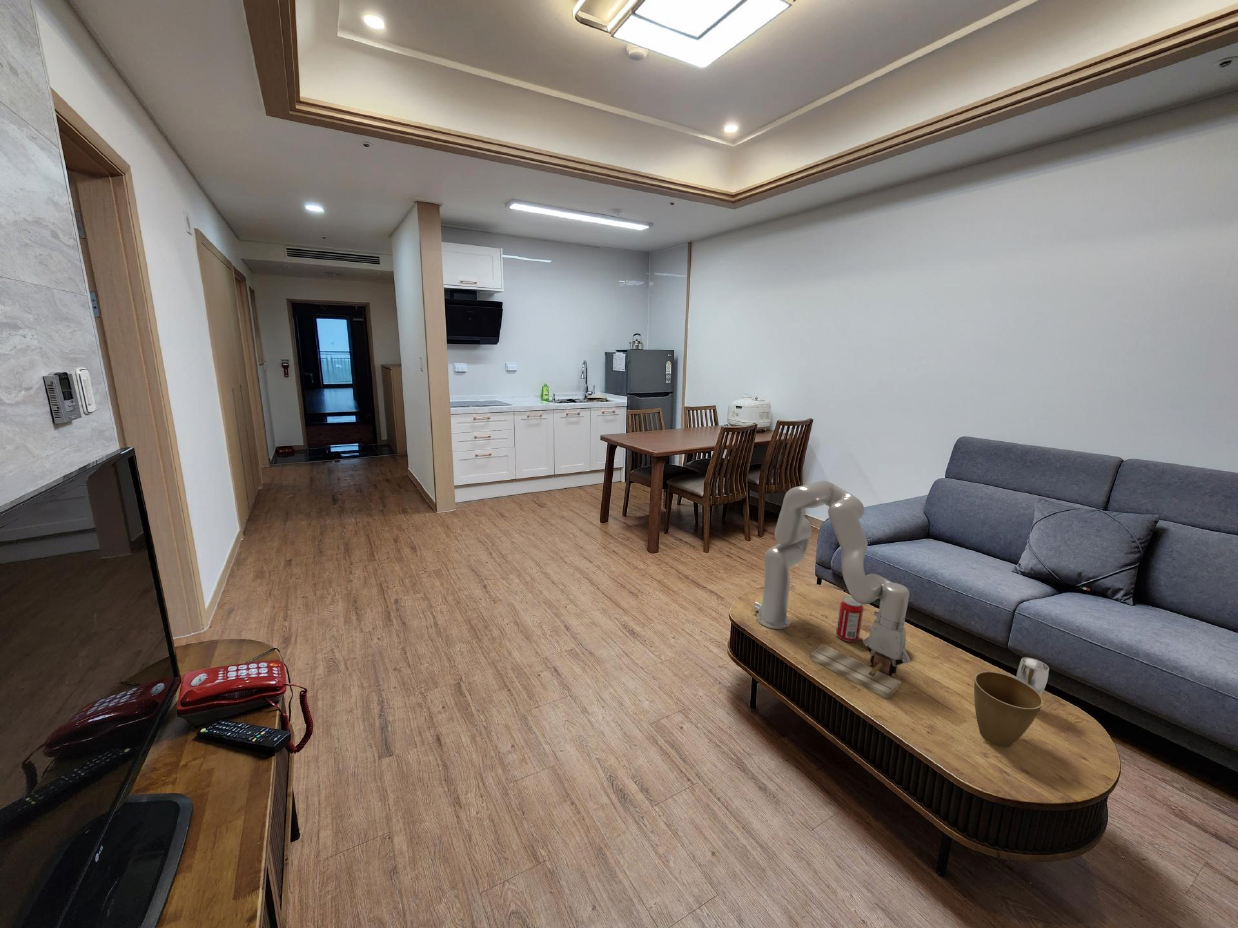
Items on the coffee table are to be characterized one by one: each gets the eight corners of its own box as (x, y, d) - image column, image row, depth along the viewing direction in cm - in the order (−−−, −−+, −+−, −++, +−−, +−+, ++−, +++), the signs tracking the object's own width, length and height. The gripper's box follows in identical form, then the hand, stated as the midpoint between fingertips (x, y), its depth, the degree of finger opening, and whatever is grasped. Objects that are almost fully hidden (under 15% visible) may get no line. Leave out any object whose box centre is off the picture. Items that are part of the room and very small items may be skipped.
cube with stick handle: (862, 678, 162) (864, 662, 161) (876, 665, 169) (879, 649, 168) (877, 686, 158) (880, 670, 157) (892, 672, 165) (894, 656, 164)
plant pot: (952, 727, 143) (962, 678, 139) (984, 712, 149) (995, 666, 145) (1009, 766, 130) (1022, 714, 126) (1042, 749, 136) (1055, 698, 132)
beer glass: (1004, 702, 154) (1014, 659, 150) (1019, 697, 156) (1029, 655, 153) (1029, 717, 147) (1040, 673, 144) (1044, 712, 150) (1055, 668, 146)
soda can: (847, 645, 181) (853, 608, 178) (831, 633, 188) (836, 597, 185) (863, 641, 184) (869, 604, 181) (846, 629, 191) (852, 594, 188)
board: (809, 658, 173) (810, 653, 172) (822, 649, 179) (823, 643, 178) (887, 699, 154) (888, 693, 153) (899, 686, 159) (900, 681, 159)
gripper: (859, 613, 166) (851, 661, 170) (914, 636, 153) (905, 687, 157) (869, 606, 170) (861, 653, 175) (923, 628, 158) (914, 678, 162)
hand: (882, 669), depth 166 cm, fingers closed on cube with stick handle, 5 cm apart
